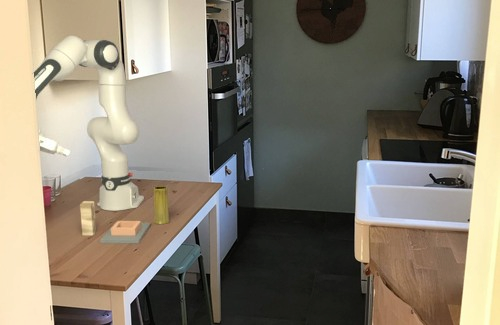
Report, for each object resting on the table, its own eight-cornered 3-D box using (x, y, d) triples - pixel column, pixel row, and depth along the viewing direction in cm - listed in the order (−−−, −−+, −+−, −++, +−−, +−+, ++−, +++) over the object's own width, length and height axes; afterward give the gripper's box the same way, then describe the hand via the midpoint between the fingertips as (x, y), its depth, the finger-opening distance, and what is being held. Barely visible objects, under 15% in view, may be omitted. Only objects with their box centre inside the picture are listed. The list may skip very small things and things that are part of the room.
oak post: (86, 231, 213) (83, 201, 210) (96, 231, 213) (94, 201, 210) (82, 235, 209) (80, 204, 206) (92, 235, 209) (90, 204, 206)
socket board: (115, 224, 220) (115, 216, 219) (150, 225, 219) (150, 216, 219) (100, 243, 201) (99, 233, 200) (138, 243, 200) (138, 234, 199)
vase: (169, 219, 227) (168, 185, 223) (169, 223, 221) (168, 189, 217) (154, 220, 226) (152, 185, 222) (154, 224, 220) (152, 190, 216)
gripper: (34, 128, 193) (73, 144, 197) (35, 133, 212) (71, 147, 216) (26, 145, 192) (66, 160, 196) (29, 148, 211) (64, 162, 216)
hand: (68, 153), depth 207 cm, fingers open, 8 cm apart
